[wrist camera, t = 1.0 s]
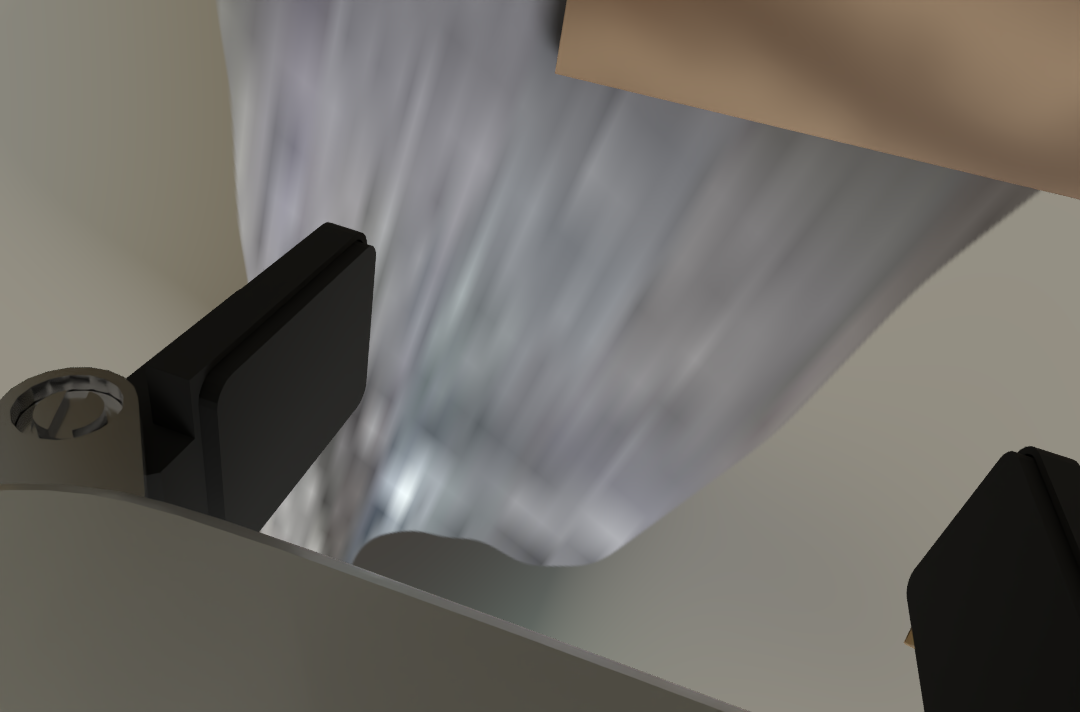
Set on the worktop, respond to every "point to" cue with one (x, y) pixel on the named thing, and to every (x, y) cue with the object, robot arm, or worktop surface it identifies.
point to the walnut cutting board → (859, 73)
